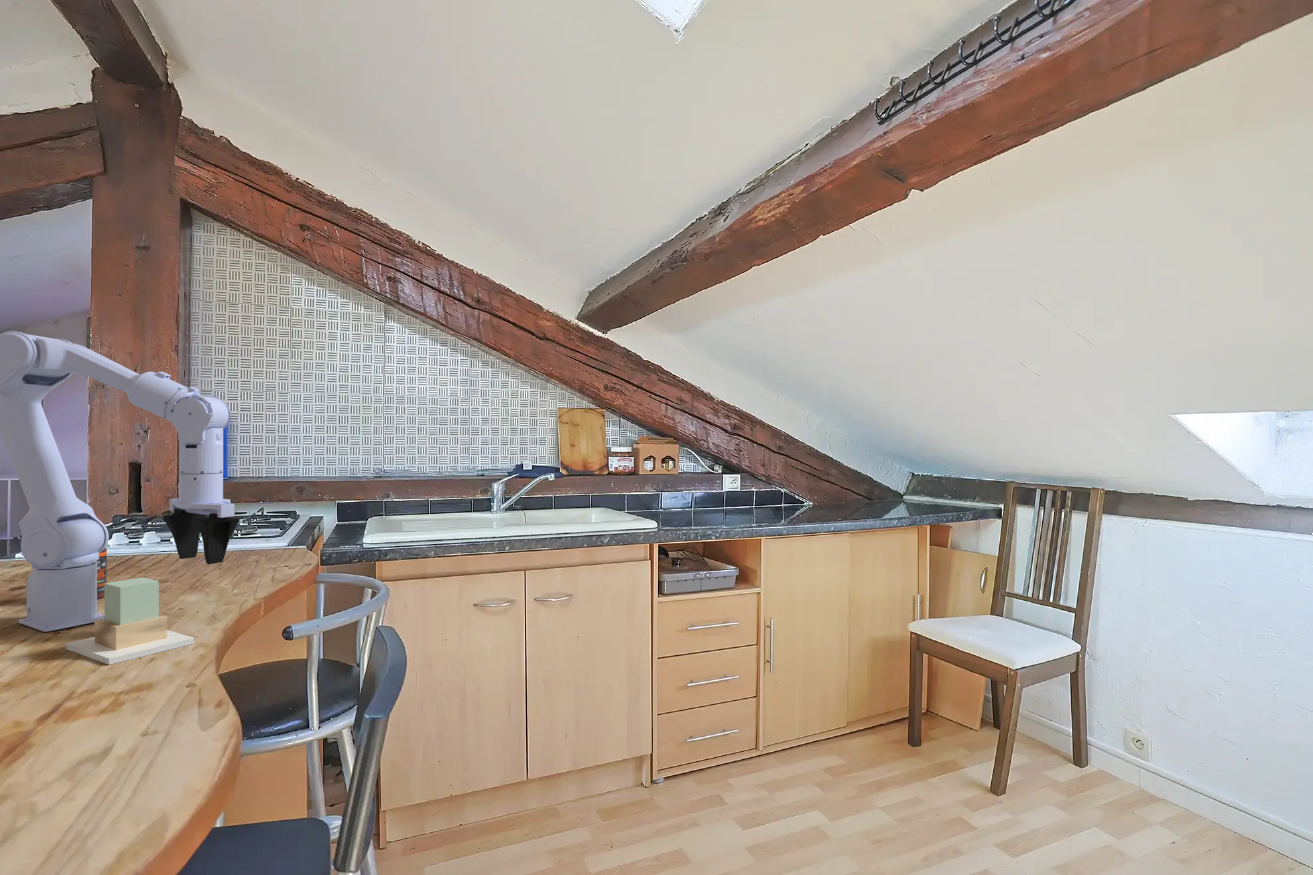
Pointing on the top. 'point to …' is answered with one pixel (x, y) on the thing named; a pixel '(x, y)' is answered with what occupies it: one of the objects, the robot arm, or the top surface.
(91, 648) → the build base
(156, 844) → the top surface
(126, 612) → the sage block
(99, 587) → the supplement bottle
